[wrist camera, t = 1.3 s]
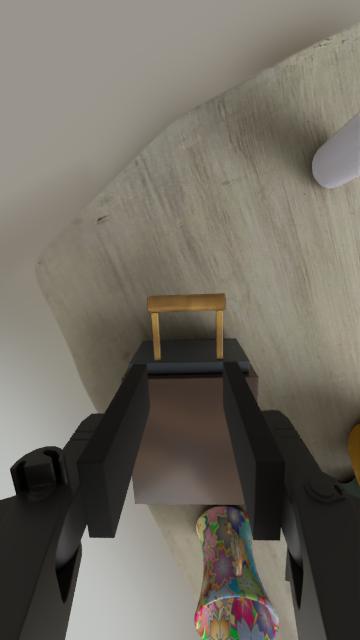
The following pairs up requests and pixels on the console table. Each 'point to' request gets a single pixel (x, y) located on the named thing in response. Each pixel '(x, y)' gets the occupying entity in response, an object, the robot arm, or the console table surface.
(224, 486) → the cabinet
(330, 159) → the perfume bottle
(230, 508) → the mug
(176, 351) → the drawer
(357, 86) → the console table surface
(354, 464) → the apple
